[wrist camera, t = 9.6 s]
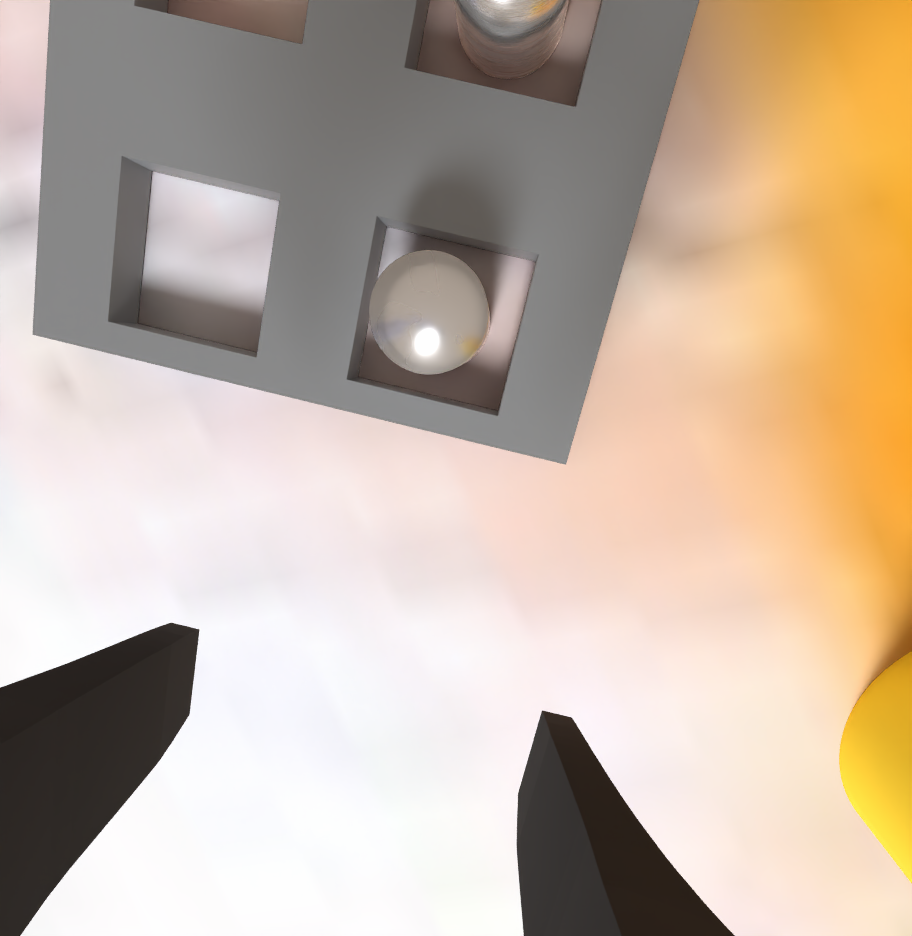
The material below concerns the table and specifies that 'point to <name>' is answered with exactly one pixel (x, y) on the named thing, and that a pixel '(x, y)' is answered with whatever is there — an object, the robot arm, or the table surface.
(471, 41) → the pin
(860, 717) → the tape roll
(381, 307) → the loose pin
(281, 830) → the table surface
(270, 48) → the hole board
